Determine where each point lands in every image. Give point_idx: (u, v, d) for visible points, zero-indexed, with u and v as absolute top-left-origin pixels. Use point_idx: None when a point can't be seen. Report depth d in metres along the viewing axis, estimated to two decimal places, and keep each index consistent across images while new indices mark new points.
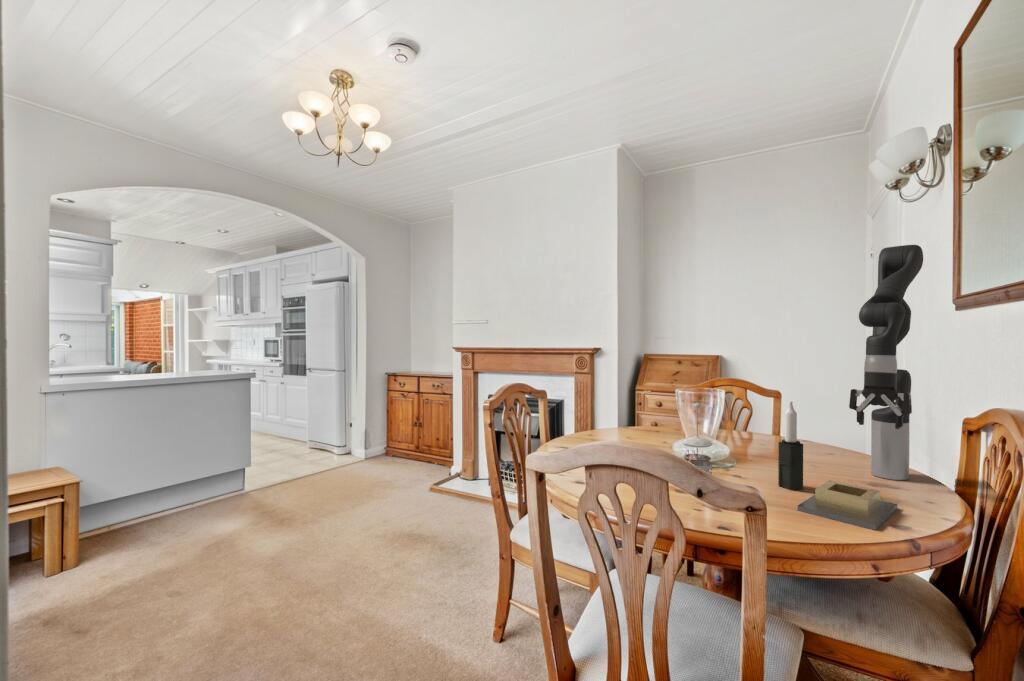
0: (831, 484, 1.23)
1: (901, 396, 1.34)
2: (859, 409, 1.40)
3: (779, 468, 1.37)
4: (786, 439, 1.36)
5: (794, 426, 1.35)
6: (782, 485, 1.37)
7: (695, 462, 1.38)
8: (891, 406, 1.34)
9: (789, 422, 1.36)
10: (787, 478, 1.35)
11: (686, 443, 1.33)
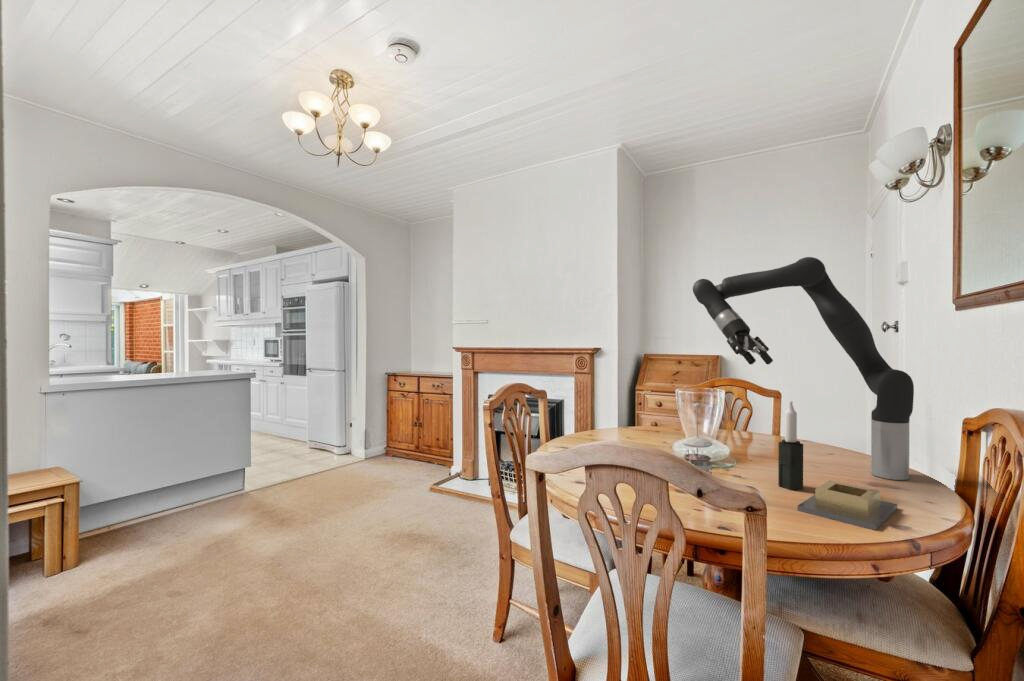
0: (831, 484, 1.23)
1: None
2: None
3: (779, 468, 1.37)
4: (786, 439, 1.36)
5: (794, 426, 1.35)
6: (782, 485, 1.37)
7: (695, 462, 1.38)
8: None
9: (789, 422, 1.36)
10: (787, 478, 1.35)
11: (686, 443, 1.33)
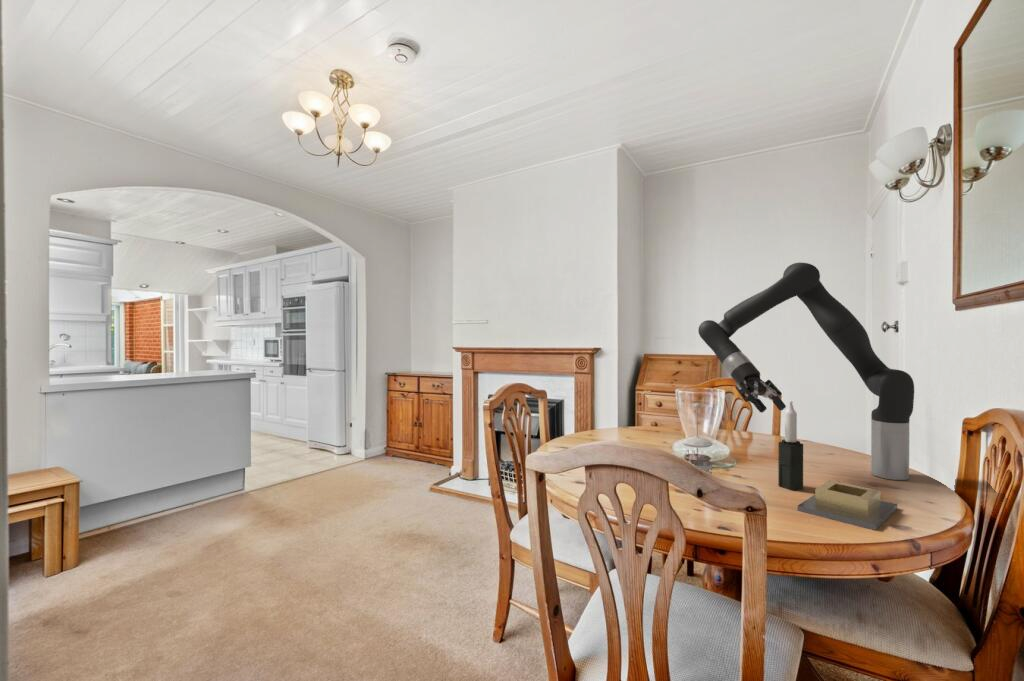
0: (831, 484, 1.23)
1: None
2: None
3: (779, 468, 1.37)
4: (786, 439, 1.36)
5: (794, 426, 1.35)
6: (782, 485, 1.37)
7: (695, 462, 1.38)
8: None
9: (789, 422, 1.36)
10: (787, 478, 1.35)
11: (686, 443, 1.33)
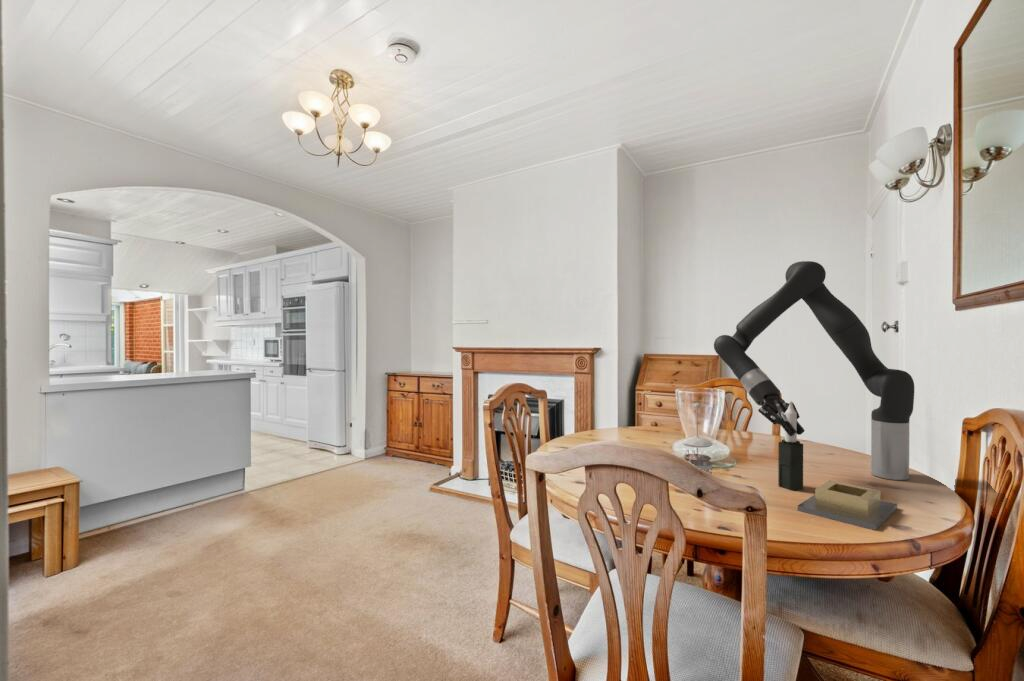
0: (831, 484, 1.23)
1: None
2: None
3: (779, 468, 1.37)
4: (786, 439, 1.36)
5: (794, 426, 1.35)
6: (782, 485, 1.37)
7: (695, 462, 1.38)
8: None
9: (789, 422, 1.36)
10: (787, 478, 1.35)
11: (686, 443, 1.33)
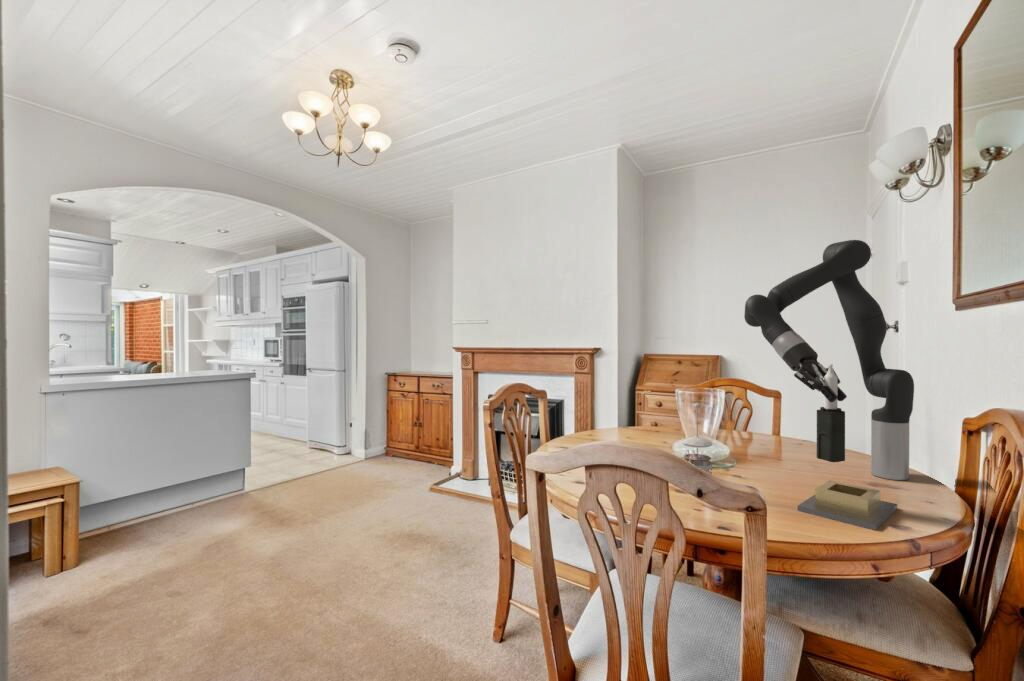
0: (831, 484, 1.23)
1: None
2: None
3: (817, 438, 1.24)
4: (825, 406, 1.23)
5: (835, 391, 1.22)
6: (821, 457, 1.24)
7: (695, 462, 1.38)
8: None
9: None
10: (827, 449, 1.22)
11: (686, 443, 1.33)
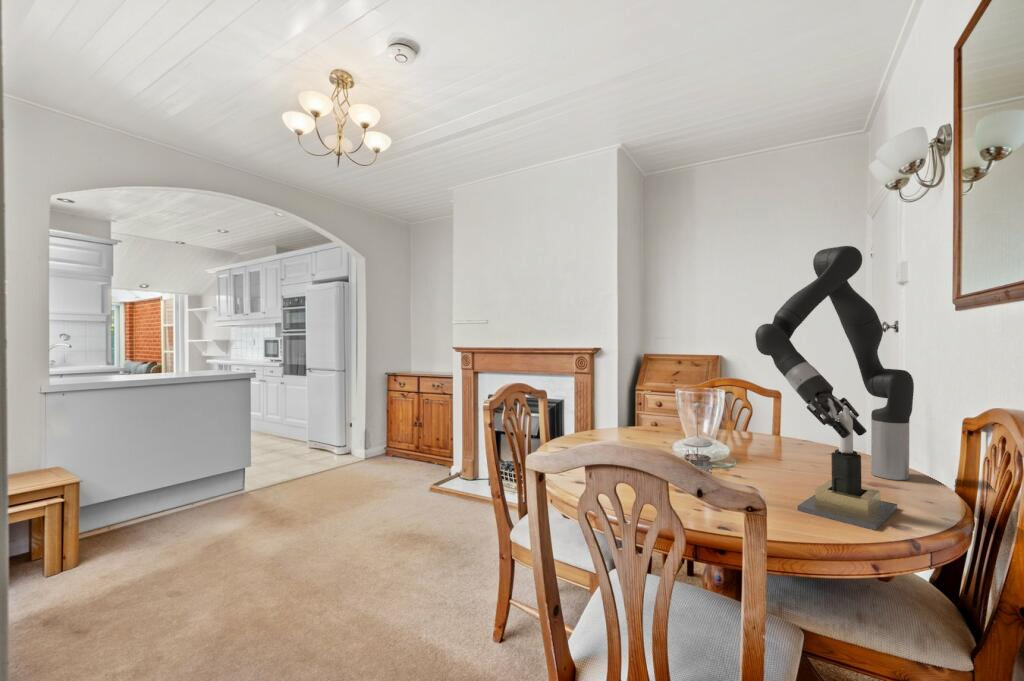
0: (831, 484, 1.23)
1: None
2: None
3: (833, 482, 1.20)
4: (841, 449, 1.19)
5: (850, 434, 1.18)
6: None
7: (695, 462, 1.38)
8: None
9: None
10: None
11: (686, 443, 1.33)
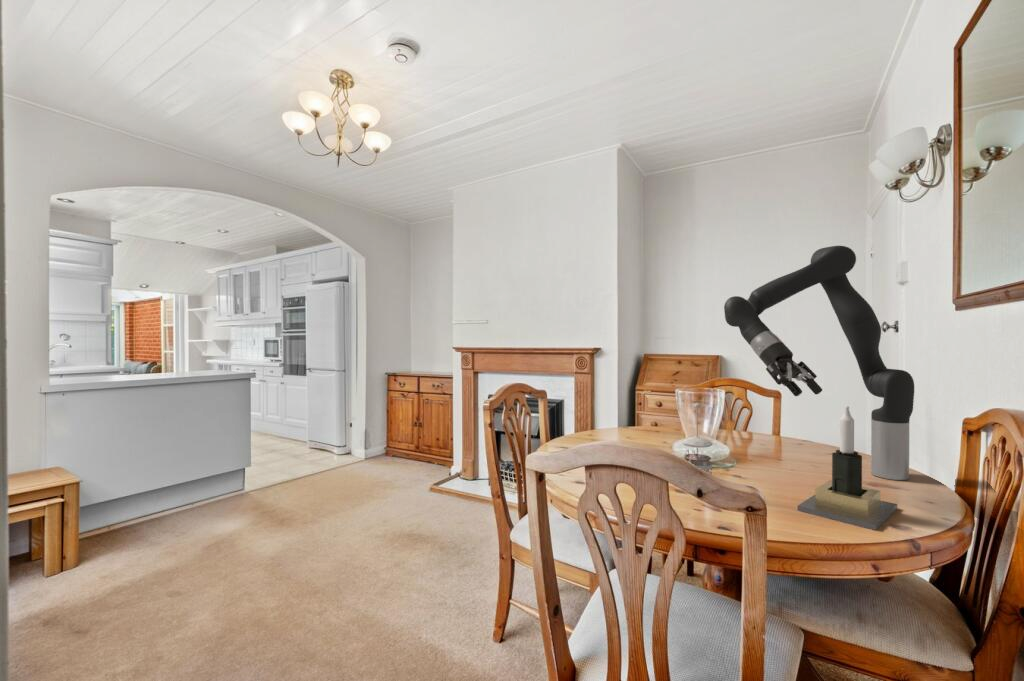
0: (831, 484, 1.23)
1: None
2: None
3: (833, 483, 1.20)
4: (842, 450, 1.19)
5: (851, 435, 1.18)
6: None
7: (695, 462, 1.38)
8: None
9: (845, 431, 1.18)
10: None
11: (686, 443, 1.33)
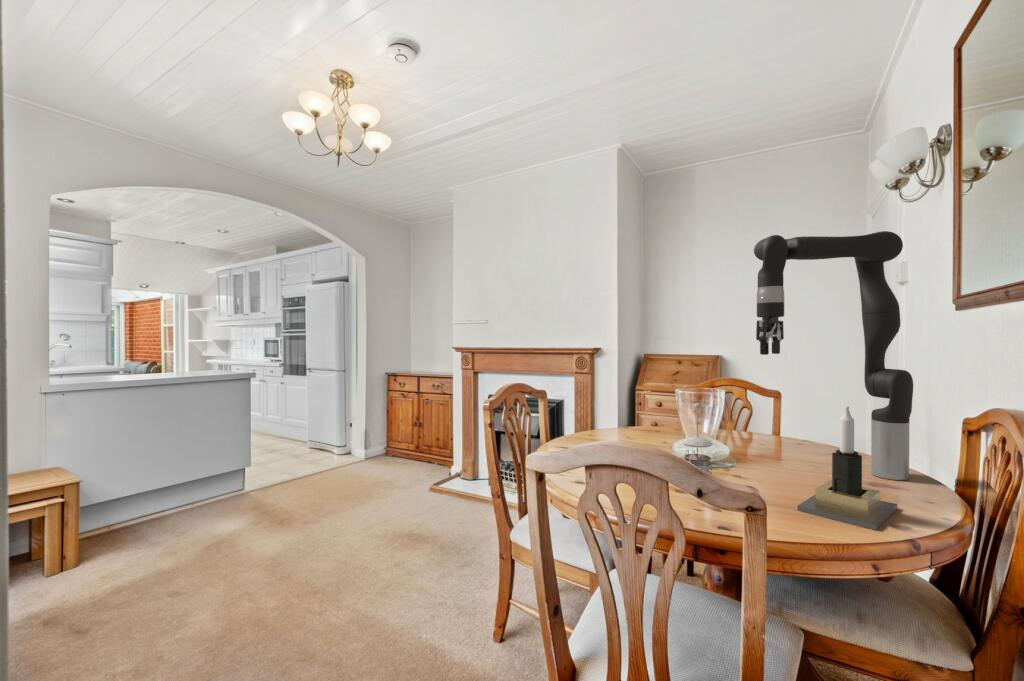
0: (831, 484, 1.23)
1: None
2: None
3: (833, 483, 1.20)
4: (842, 450, 1.19)
5: (851, 435, 1.18)
6: None
7: (695, 462, 1.38)
8: None
9: (845, 431, 1.18)
10: None
11: (686, 443, 1.33)
